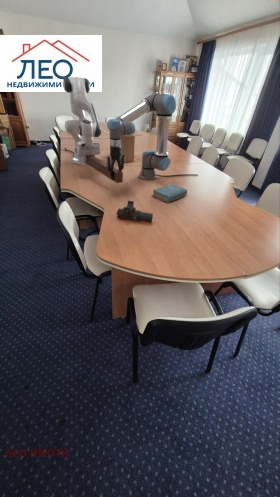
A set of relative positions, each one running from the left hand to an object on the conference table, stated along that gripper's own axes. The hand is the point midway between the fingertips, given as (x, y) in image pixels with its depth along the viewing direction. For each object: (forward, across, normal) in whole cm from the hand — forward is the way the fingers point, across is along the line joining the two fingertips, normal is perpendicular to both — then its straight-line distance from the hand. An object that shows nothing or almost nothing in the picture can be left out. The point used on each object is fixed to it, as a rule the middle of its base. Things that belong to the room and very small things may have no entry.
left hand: (89, 160), depth 190 cm
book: (+13, -35, +68) cm, 77 cm away
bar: (+3, 0, +22) cm, 22 cm away
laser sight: (+13, +10, +85) cm, 87 cm away
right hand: (+2, 0, +44) cm, 44 cm away
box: (+14, -57, -40) cm, 71 cm away
